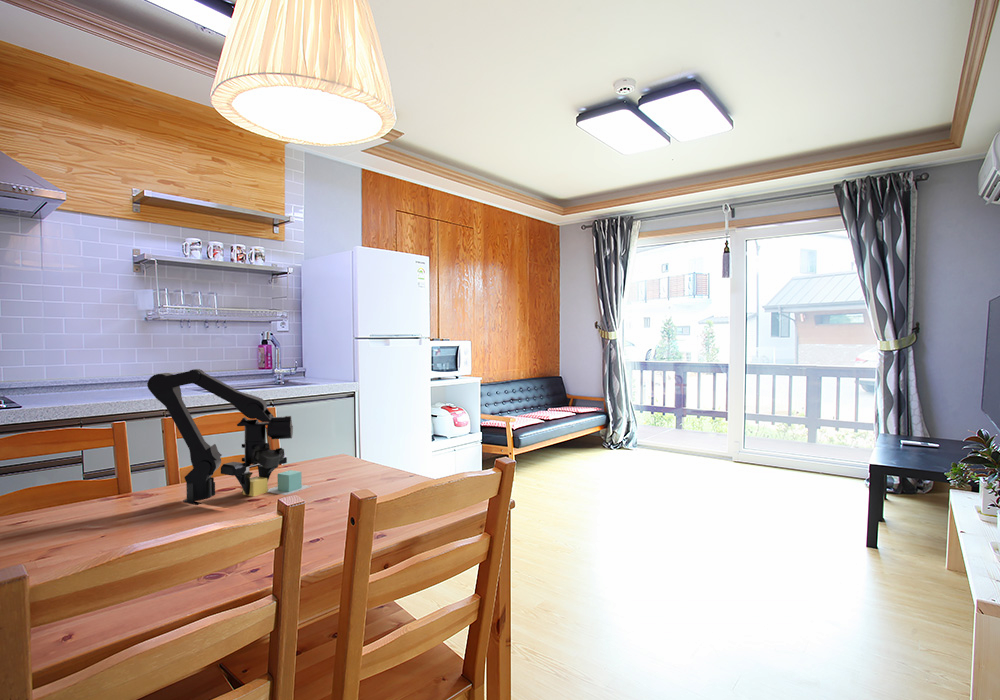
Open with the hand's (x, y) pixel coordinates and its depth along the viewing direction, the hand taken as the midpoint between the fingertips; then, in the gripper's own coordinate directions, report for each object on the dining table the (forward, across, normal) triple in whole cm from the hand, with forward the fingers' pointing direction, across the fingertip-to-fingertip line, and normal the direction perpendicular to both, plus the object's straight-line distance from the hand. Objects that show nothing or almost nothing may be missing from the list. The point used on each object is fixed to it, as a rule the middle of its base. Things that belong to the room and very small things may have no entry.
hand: (255, 492), depth 152 cm
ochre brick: (+1, 0, 0) cm, 1 cm away
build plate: (+1, +7, -5) cm, 9 cm away
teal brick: (0, +7, -6) cm, 9 cm away
